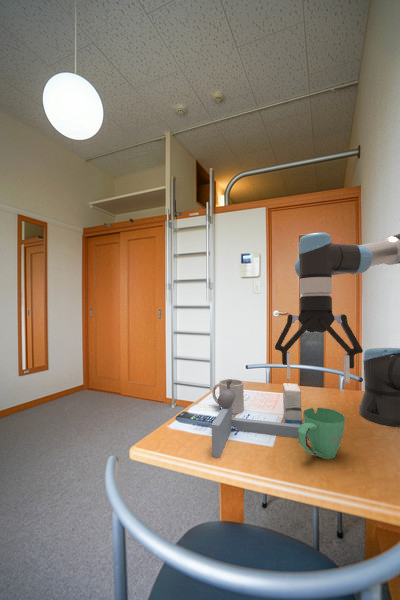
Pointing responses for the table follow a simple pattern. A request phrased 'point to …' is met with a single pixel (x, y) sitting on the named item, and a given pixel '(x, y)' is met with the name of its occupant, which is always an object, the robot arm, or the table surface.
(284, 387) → the ink box
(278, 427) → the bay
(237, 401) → the mug
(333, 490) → the table surface
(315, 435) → the mug
